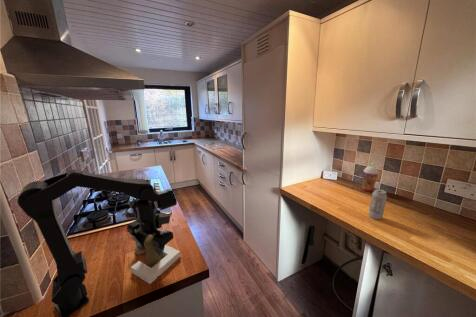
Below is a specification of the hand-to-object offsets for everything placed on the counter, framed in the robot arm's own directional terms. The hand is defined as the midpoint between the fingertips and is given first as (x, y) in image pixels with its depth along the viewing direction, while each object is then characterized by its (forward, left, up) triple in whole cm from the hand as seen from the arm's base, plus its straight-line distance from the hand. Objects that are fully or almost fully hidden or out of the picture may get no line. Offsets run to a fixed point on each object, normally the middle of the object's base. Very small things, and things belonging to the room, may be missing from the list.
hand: (152, 250), depth 73 cm
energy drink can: (+76, -78, -6) cm, 109 cm away
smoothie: (+113, -77, -6) cm, 137 cm away
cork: (0, 0, -6) cm, 6 cm away
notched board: (0, -2, -6) cm, 6 cm away
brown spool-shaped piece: (+3, +10, -6) cm, 12 cm away
